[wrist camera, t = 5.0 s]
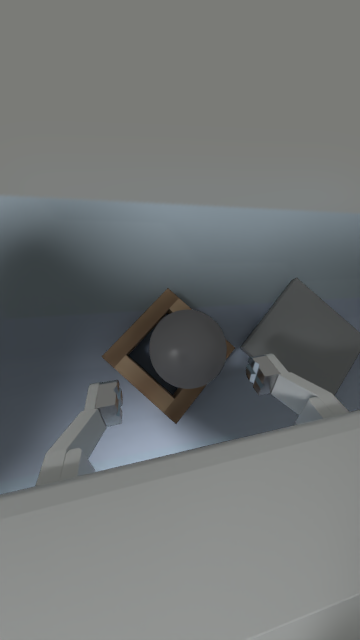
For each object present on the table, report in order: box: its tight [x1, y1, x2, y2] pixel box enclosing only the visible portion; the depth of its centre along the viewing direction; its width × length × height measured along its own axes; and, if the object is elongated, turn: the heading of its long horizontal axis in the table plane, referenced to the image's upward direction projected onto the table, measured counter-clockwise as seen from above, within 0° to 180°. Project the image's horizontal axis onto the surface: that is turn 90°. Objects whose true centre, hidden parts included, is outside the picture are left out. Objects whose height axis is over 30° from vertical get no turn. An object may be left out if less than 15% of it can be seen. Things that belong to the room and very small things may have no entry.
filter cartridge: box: [149, 310, 227, 389], centre depth 15 cm, size 4×4×11 cm
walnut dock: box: [102, 288, 235, 424], centre depth 20 cm, size 9×9×2 cm
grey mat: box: [240, 278, 360, 396], centre depth 23 cm, size 11×11×1 cm
